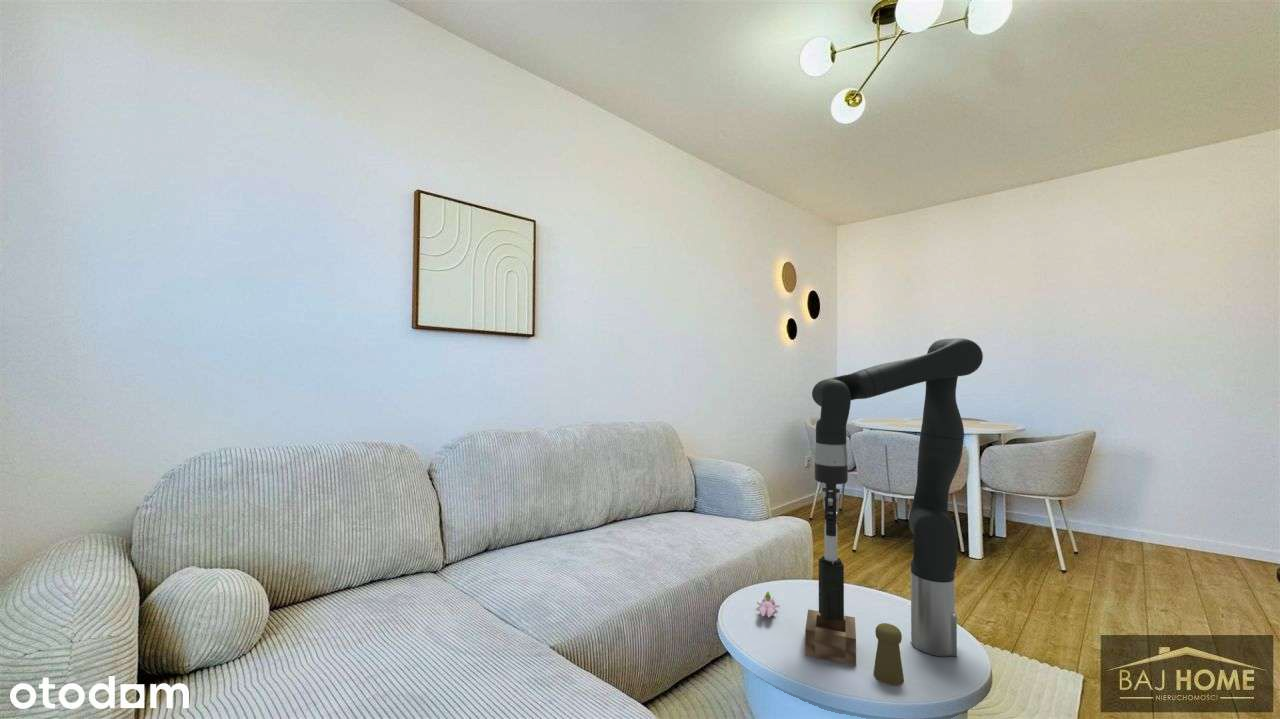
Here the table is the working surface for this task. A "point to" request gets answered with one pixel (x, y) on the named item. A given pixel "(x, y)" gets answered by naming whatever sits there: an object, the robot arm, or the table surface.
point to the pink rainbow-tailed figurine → (767, 606)
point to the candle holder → (830, 638)
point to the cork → (888, 655)
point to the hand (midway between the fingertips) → (831, 533)
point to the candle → (831, 581)
